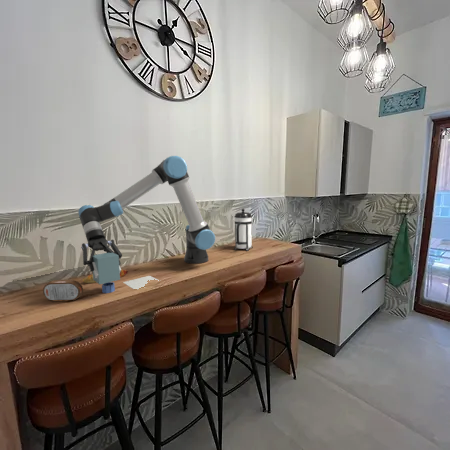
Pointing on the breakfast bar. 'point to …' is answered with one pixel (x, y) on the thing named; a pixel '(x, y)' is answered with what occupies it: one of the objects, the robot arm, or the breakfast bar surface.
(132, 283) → the mat
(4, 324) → the breakfast bar surface
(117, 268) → the grey-blue rectangular block
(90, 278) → the croissant
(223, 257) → the breakfast bar surface
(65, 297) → the tin
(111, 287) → the blue hex nut
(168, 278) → the breakfast bar surface
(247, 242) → the coffee press
